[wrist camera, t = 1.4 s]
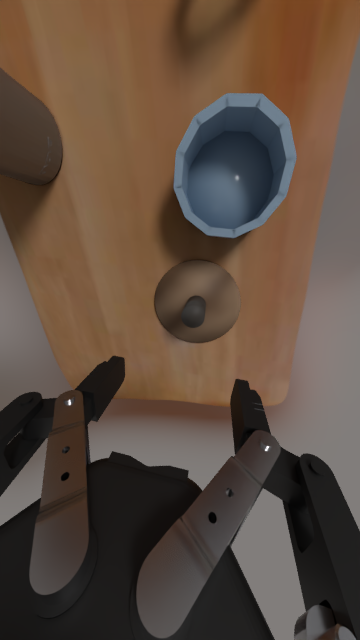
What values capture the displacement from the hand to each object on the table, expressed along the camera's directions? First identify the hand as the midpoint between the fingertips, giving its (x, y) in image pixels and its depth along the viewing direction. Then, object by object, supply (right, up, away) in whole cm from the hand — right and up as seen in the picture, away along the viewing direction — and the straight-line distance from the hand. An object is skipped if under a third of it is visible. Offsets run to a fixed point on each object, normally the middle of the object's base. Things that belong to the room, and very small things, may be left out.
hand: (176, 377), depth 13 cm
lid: (+3, +7, +16) cm, 17 cm away
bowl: (+6, +20, +9) cm, 23 cm away
